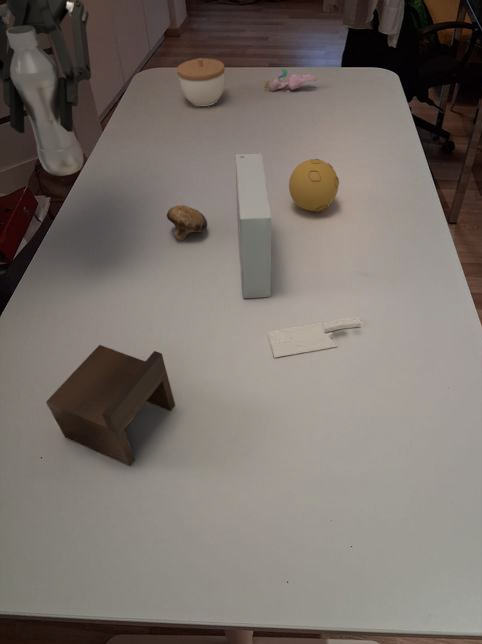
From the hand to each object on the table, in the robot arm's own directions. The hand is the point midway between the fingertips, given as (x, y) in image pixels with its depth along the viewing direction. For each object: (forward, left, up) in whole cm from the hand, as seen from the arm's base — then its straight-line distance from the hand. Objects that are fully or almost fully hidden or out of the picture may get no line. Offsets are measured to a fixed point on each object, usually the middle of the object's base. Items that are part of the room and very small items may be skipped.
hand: (42, 128), depth 76 cm
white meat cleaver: (+42, +3, -28) cm, 51 cm away
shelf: (+23, -23, -28) cm, 43 cm away
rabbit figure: (-2, +92, -28) cm, 96 cm away
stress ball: (+27, +38, -28) cm, 54 cm away
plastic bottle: (-2, +3, -9) cm, 9 cm away
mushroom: (+8, +20, -28) cm, 35 cm away
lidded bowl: (-21, +76, -28) cm, 83 cm away
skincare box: (+24, +17, -28) cm, 41 cm away
